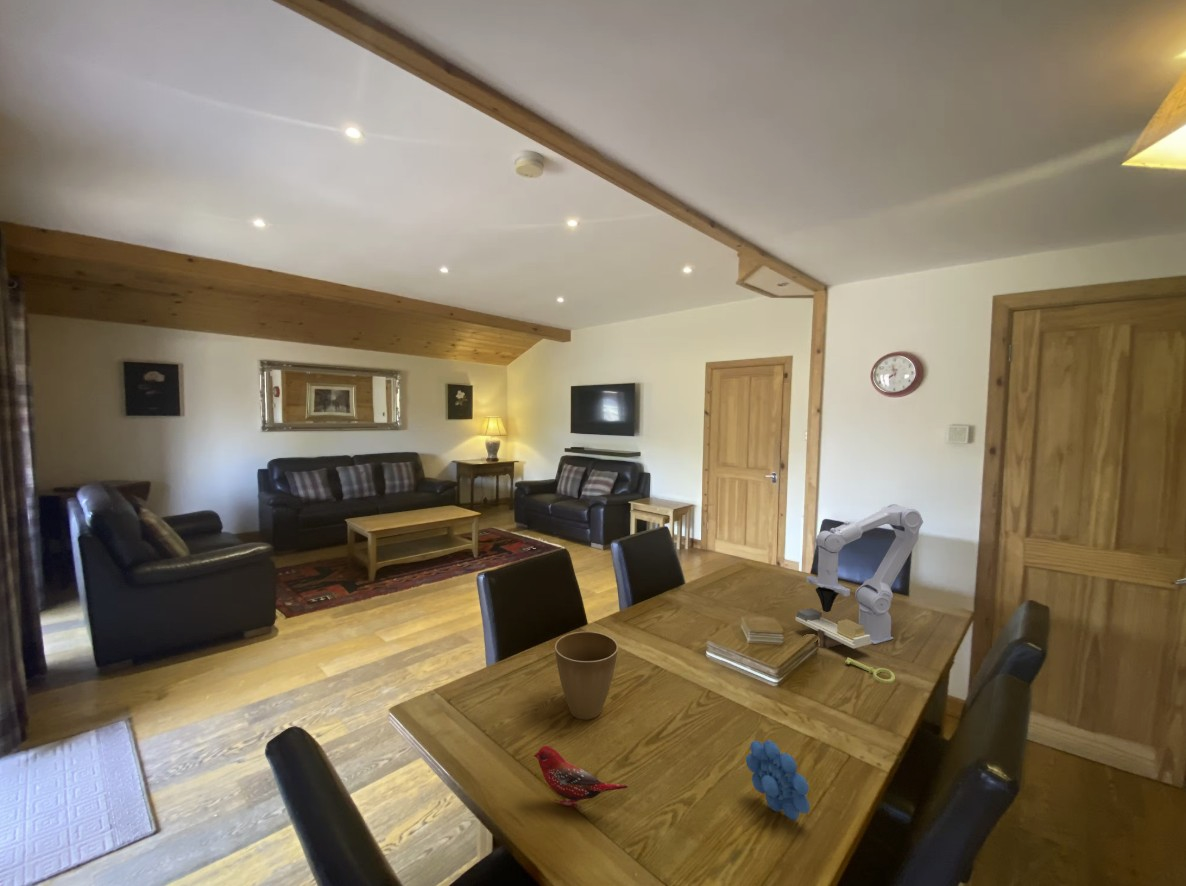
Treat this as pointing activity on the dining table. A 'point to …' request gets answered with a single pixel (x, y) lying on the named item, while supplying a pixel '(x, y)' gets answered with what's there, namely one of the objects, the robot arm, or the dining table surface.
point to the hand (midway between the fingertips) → (826, 610)
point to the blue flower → (778, 779)
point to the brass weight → (850, 629)
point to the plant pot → (586, 671)
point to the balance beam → (829, 628)
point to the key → (873, 671)
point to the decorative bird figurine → (570, 778)
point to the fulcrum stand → (827, 640)
